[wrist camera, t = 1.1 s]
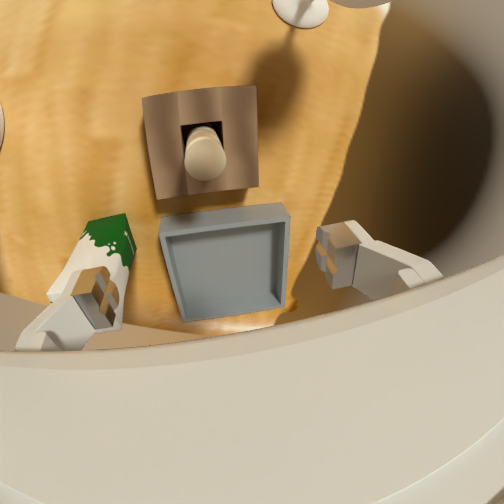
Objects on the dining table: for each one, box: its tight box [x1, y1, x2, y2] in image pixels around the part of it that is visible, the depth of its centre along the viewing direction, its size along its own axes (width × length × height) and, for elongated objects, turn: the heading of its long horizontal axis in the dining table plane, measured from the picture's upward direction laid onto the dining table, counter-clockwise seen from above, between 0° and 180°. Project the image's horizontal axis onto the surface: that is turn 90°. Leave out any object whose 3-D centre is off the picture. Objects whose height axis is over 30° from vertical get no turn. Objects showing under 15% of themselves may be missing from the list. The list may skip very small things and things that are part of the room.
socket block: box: [142, 85, 259, 200], centre depth 34 cm, size 14×14×5 cm
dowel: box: [184, 122, 226, 181], centre depth 30 cm, size 4×4×14 cm
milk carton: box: [46, 213, 136, 333], centre depth 34 cm, size 9×9×20 cm
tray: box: [159, 203, 291, 322], centre depth 47 cm, size 20×20×5 cm
